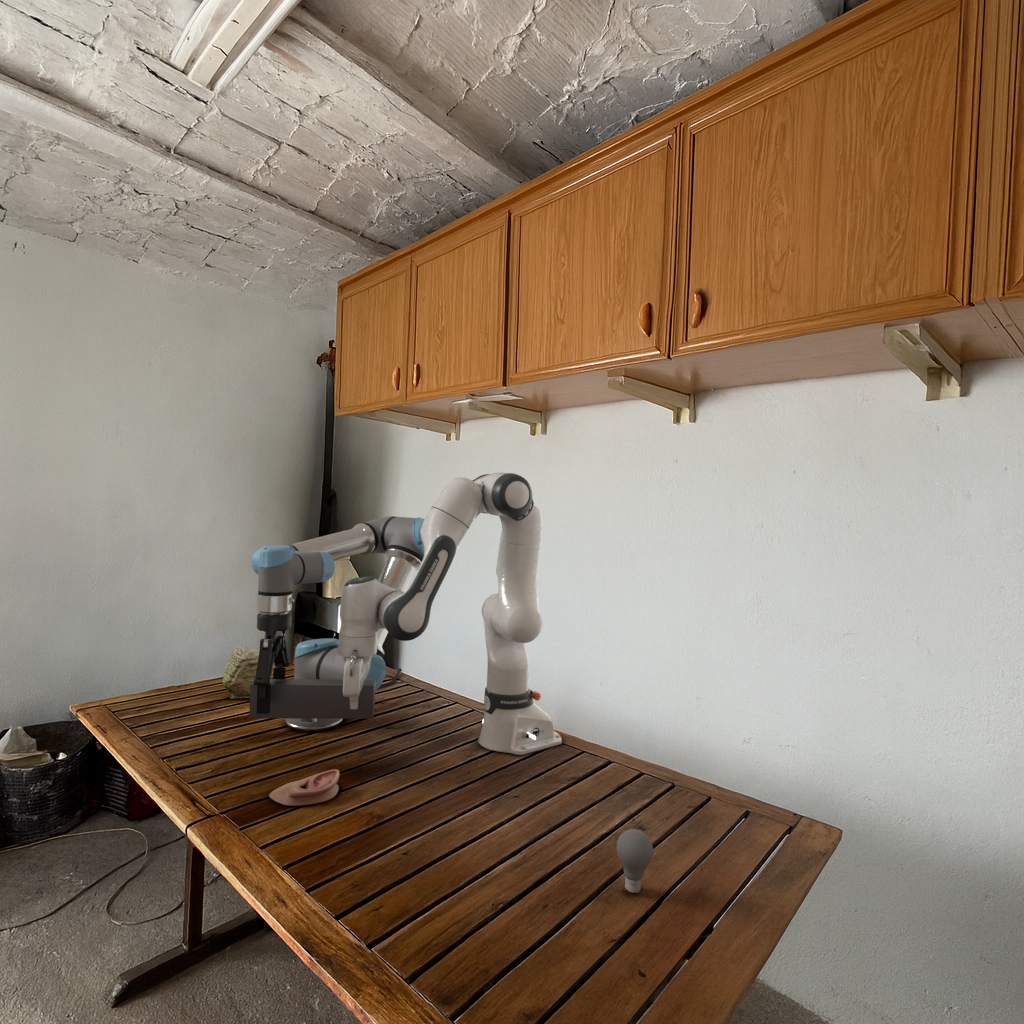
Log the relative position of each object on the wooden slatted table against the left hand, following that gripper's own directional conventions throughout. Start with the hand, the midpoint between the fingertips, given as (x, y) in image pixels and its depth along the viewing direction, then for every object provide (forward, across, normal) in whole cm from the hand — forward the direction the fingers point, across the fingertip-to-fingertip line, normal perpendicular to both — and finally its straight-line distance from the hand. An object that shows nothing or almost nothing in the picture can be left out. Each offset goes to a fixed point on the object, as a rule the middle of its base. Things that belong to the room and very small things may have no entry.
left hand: (271, 703), depth 147 cm
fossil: (+15, +53, +18) cm, 58 cm away
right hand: (0, 0, -19) cm, 19 cm away
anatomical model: (+15, -15, -11) cm, 24 cm away
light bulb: (+15, -50, -72) cm, 89 cm away
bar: (+3, 0, -10) cm, 10 cm away
